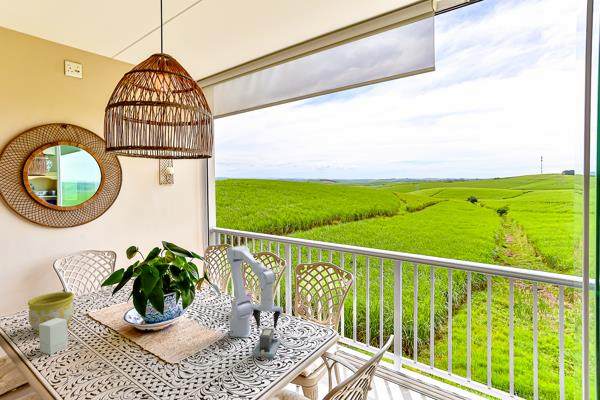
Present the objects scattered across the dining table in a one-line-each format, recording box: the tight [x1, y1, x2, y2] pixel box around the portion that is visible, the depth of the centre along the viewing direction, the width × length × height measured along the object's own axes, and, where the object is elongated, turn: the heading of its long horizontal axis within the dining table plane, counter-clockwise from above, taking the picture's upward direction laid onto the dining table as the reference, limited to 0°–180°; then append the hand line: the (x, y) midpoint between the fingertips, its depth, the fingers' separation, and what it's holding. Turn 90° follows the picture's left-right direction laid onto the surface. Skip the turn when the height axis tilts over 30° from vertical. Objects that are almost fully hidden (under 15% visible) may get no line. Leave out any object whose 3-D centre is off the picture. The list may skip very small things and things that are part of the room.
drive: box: [259, 327, 275, 352], centre depth 133 cm, size 4×8×7 cm, turn 171°
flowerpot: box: [27, 291, 75, 335], centre depth 150 cm, size 18×18×16 cm
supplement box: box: [38, 318, 69, 355], centre depth 132 cm, size 7×7×13 cm
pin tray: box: [251, 337, 281, 360], centre depth 133 cm, size 10×15×4 cm, turn 171°
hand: (266, 326), depth 133 cm, fingers open, 7 cm apart
